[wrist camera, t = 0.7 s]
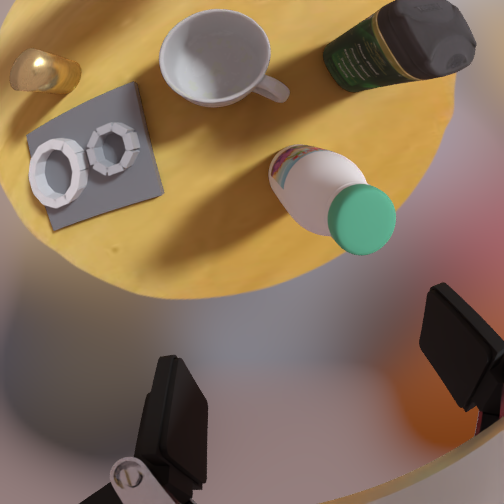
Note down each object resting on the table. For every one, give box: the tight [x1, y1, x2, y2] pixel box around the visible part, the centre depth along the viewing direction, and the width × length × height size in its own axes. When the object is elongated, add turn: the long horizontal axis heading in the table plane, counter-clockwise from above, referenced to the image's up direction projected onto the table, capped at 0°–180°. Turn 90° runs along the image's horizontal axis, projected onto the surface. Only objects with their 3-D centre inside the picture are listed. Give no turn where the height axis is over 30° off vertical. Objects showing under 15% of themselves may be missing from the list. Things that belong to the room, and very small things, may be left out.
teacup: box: [159, 9, 290, 107], centre depth 26 cm, size 14×11×8 cm
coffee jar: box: [323, 0, 476, 92], centre depth 20 cm, size 10×8×19 cm
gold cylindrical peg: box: [10, 48, 81, 94], centre depth 22 cm, size 5×5×10 cm
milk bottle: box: [268, 144, 396, 255], centre depth 26 cm, size 8×8×20 cm
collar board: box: [26, 81, 164, 231], centre depth 30 cm, size 15×18×4 cm
